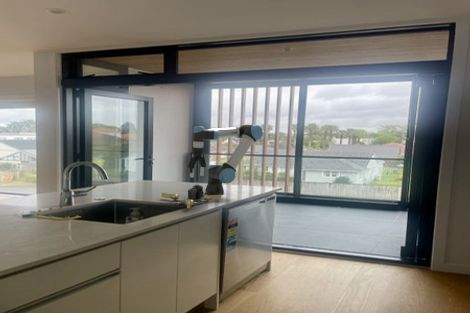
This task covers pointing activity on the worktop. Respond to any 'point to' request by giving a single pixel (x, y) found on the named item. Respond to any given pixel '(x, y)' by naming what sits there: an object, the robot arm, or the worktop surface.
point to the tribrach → (197, 202)
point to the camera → (195, 192)
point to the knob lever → (170, 196)
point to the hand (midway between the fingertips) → (196, 176)
